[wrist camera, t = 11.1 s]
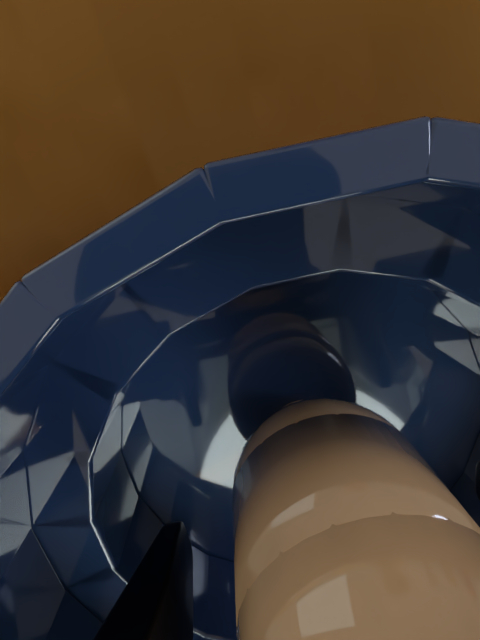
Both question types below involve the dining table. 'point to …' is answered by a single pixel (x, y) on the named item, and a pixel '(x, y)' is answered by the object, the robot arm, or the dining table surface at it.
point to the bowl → (230, 356)
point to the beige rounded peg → (348, 533)
